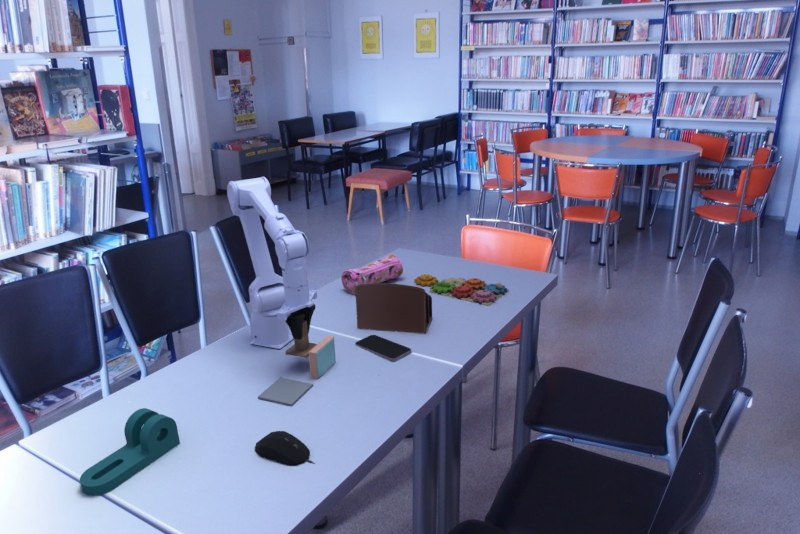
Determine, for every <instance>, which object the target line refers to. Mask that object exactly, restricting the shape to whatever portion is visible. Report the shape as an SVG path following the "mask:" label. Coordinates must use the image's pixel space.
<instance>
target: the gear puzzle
mask: <svg viewBox="0 0 800 534" xmlns="http://www.w3.org/2000/svg"><path fill="white" fill-rule="evenodd" d="M413 281H414V282H415V285H420V286H421V287H424V286H427V287H429V290H428V291H429V293H431V294H435V295H436V293H437V294H440V296H443V297H449V298H451V299H456V298H458V299H460V300H461V301H466V302H470V303H474V304H476V303H480V304H481V305H482V306H487V307H489V306H491V305H492V304H493V302H496V301H498V300H499V299H500V298H502V297H503V296H504V294H507V293H508V292H509V291H510V290H509V288H507V287H505V285H503V284H502V283H500V282H497V283H490V284H487V283H486V281H485V280H482V279H481V278H477V277H475V278H474V277H472V278H469V279H468V280H466V279H465V278H464V277H463V278H462V277H458V278H457V277H450V278H448V279H446V278H444V279H443V280H441V281H439V279H438V278H437V277H436V276H433V275H432V274H421V275H420V276H417V277H416V278H415V279H414V280H413Z"/></svg>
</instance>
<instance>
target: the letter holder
mask: <svg viewBox="0 0 800 534" xmlns="http://www.w3.org/2000/svg"><path fill="white" fill-rule="evenodd" d="M355 292H356V295H355V305H356V306H355V309H356V310H355V312H356V327H357V329H359V330H370V331H371V330H373V331H385V332H395V331H397V333H398V332H400V333H413V334H422V333H423V335H426V334H427V332H428V330H429V327H430V325H431V323H432V322H433V321H432V320H433V297H432V295H430V294H429V293H428V292H427V291H426V289H424V288H423V287H420V286H419V287H418V286H413V285H408V284H400V283H389V282H387V283H386V282H381V283H371V284H360V285H357V286H356V288H355Z"/></svg>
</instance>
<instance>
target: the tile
mask: <svg viewBox="0 0 800 534" xmlns="http://www.w3.org/2000/svg"><path fill="white" fill-rule="evenodd" d="M316 344H317V345H316V346H315V347H314V348H313V349H311V350H310V351H309V357H308V359H309V369H310V370H309V371H310V372H309V373H310V379H315V380H318V379H319V378H321V377H322V376H323V374H324V373H326V372H327V371H328V370H329V369H330V368H331V367H332V366H333V365H334V364H335V363H336V361H337V359H336V348H335V347H336V345H335V337H334V336H332V335H326V336H325V337H324V338H323V339H322V340H321V341H319V342H318V343H316Z"/></svg>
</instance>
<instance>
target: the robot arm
mask: <svg viewBox="0 0 800 534" xmlns="http://www.w3.org/2000/svg"><path fill="white" fill-rule="evenodd" d="M226 196H227V199H228V202H229V207H230V210H231V212H232V215H233V216H236V217H239V221H240V223H241V226H242V229H243V233H244V237H245V240H246V244H247V248H248V251H249V256H250V259H251V262H252V265H253V266H252V267H253V270H254V273H255V279H254V280H253V281H252V282H251V283H250V285H249V287H248V294H249V303H250V306H251V309H252V312H251V315H250V319H249V323H250V324H249V325H250V330H251V338H252V341H250V344H251V345H256V346H261V347H265V348H271V349H276V350H281V349H282V348H284V347H285V346H286V345H287V344H288V343H291V341H292V340H294V339H299V340H301V339H302V335H303V320H307V327H308V334H309V333H310V328H311V321H312V318H313V315H314V312H315V310H316V304H315V303H314V301H313V300H316V299H317V298H318V292H317V291H318V290H314V289H310V288H309V280H308V279H309V278H308V268H307V258H306V257H308V256H309V254H310V243H309V241H308V237H307V236H306V234H305V233H304V232H303V231H300V230H299V229H298V230H297V229H295V228H294V226H293V224H292V223H291V222H290V220H289V218H288V217H287V216H286V215H285V214H284V213H282V212H279V211H278V210H277V208H276V206H275V204H274V202H273V201H272V187H271V184H270V181H269V180H268V179H267V178H266V177H265V176H261V177H260V176H259V177H256V178H255V177H253V178H249V179H248V178H247V179H240V180H234V181H233V180H230V181H229V182H228V184H227V187H226ZM260 216H261V217H262V219H263V220H264V226H263V225H262V222H261V218H260ZM263 227H264V229H263ZM264 230H265V231H266V232H267V233H268V235H269V237H270V239H271V240H272V241H273V243H274V245H275V246H274V249H275V250H274V251H275V254H276V256H277V258H278V265H279V267H280V268H281V275H282V276H281V275H279V274H277V273H276V272H275V269H274V265H273V261H272V258H271V255H270V251H269V246H268V243H267V240H266V236H265V231H264ZM268 286H270V287H268ZM289 330H290V332H291V333H289Z"/></svg>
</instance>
